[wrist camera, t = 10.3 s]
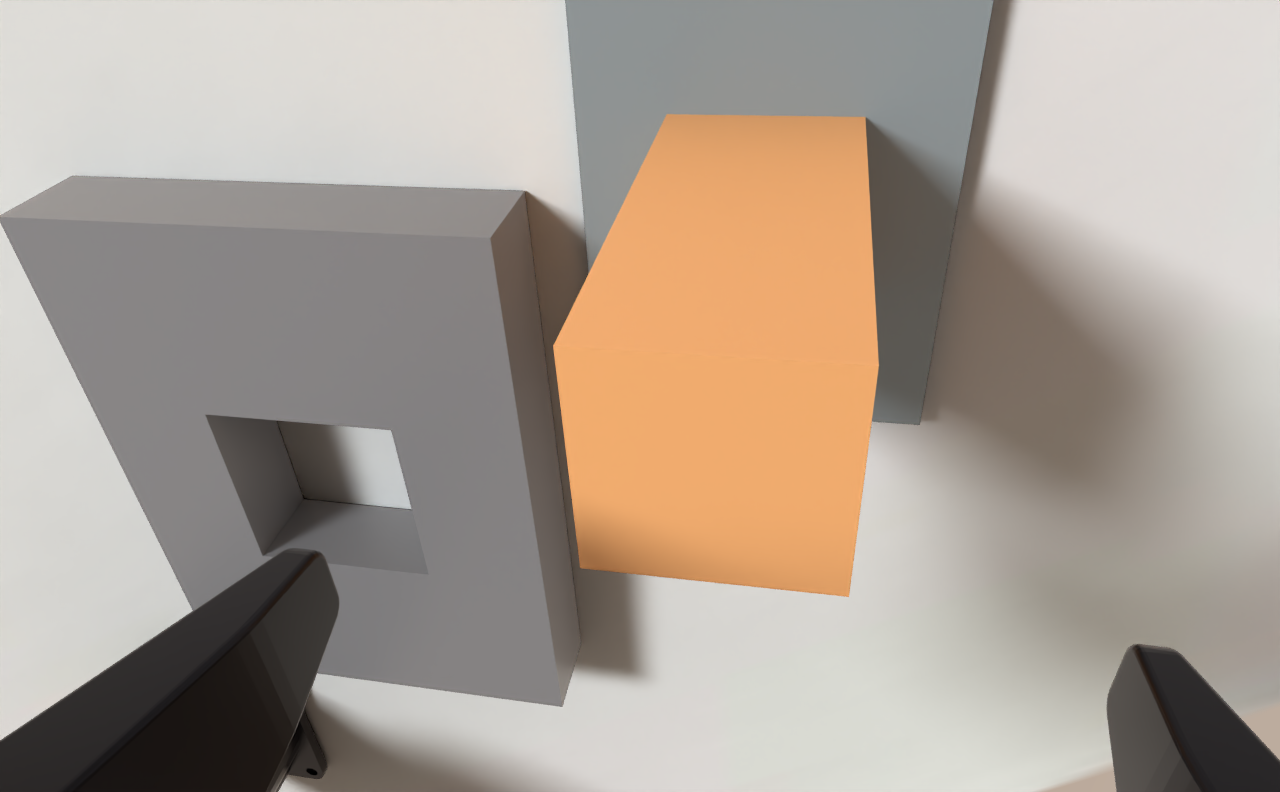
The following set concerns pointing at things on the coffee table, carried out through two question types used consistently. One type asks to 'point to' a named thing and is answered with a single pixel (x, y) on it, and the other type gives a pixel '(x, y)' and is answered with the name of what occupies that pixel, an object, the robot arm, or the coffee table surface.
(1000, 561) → the coffee table surface
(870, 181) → the mat
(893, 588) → the coffee table surface
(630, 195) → the orange block
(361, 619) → the holder
